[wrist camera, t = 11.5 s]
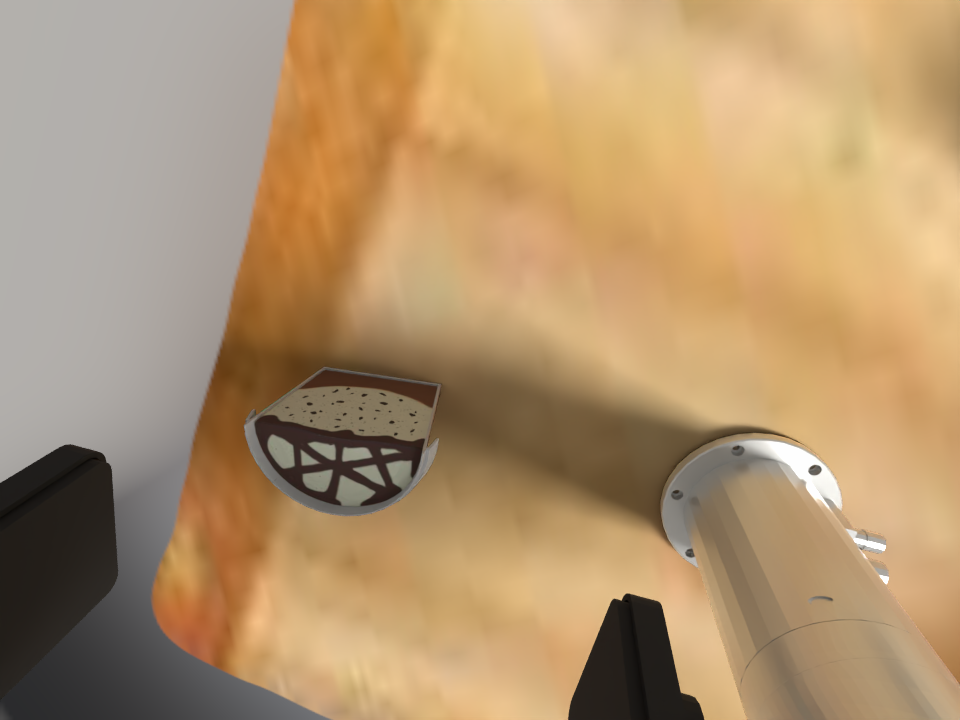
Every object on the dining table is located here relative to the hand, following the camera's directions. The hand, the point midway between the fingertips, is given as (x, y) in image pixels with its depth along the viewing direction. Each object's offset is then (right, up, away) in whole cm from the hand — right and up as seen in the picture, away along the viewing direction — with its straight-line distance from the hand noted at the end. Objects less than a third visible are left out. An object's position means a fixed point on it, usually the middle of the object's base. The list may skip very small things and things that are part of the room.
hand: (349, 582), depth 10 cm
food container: (-5, 0, +34) cm, 34 cm away
